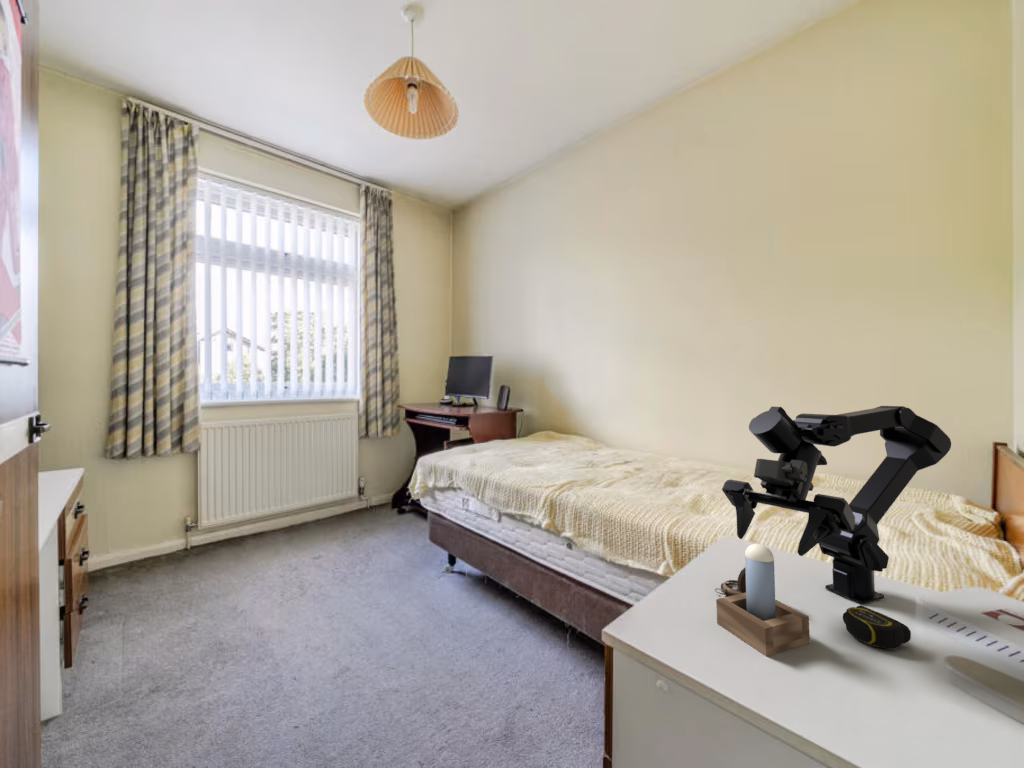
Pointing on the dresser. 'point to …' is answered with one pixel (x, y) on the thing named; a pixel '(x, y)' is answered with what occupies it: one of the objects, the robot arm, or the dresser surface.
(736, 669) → the dresser surface
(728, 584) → the compass
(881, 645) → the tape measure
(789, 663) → the dresser surface
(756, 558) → the dome-topped blue cylinder
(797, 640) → the open wooden box
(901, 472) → the robot arm
